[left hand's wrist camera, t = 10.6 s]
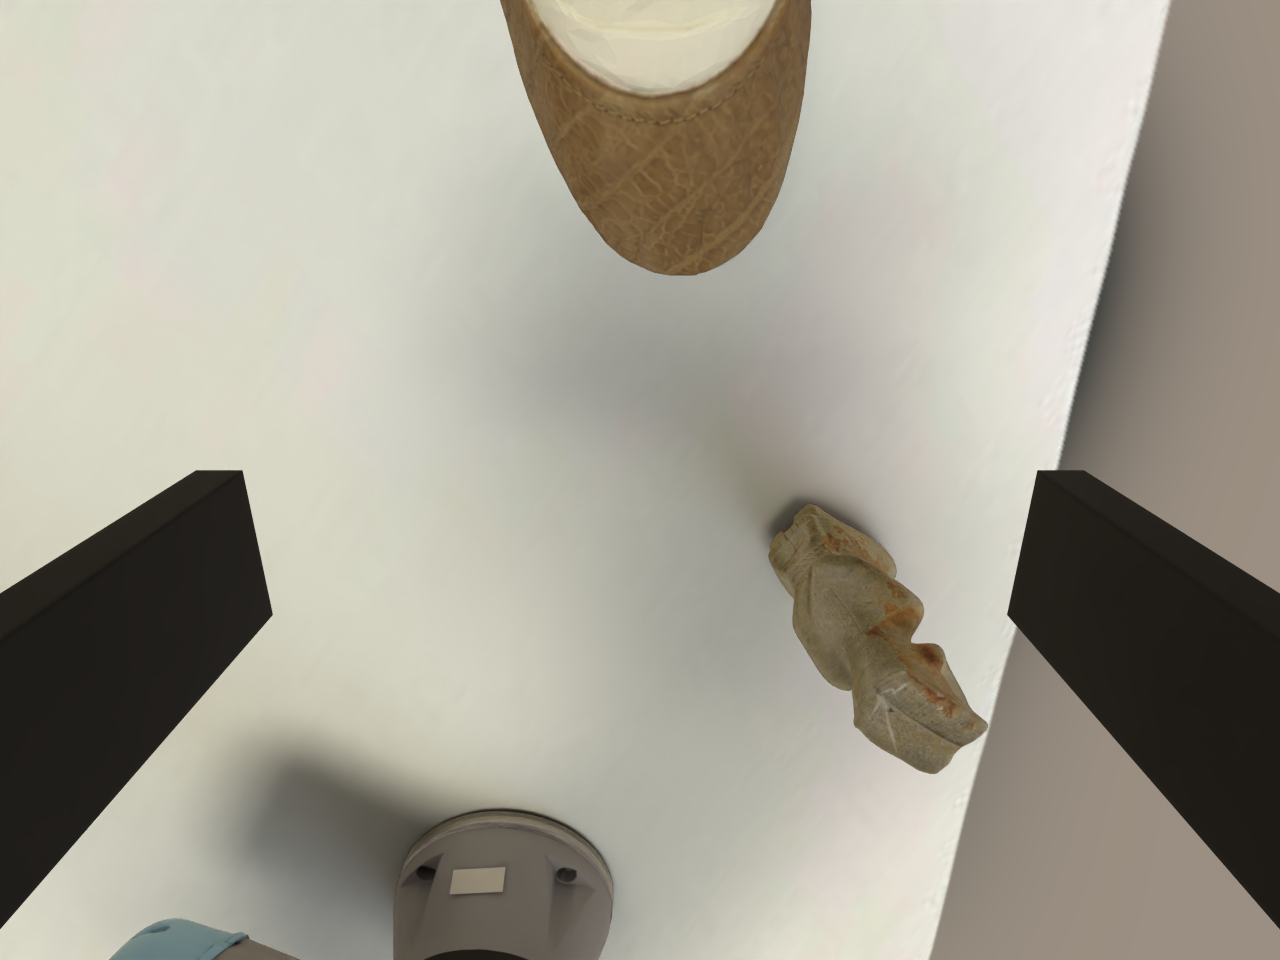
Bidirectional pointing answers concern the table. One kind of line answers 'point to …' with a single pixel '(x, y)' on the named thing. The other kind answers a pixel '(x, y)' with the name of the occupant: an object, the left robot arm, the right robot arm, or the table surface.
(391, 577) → the table surface
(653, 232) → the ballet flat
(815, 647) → the sculpture
